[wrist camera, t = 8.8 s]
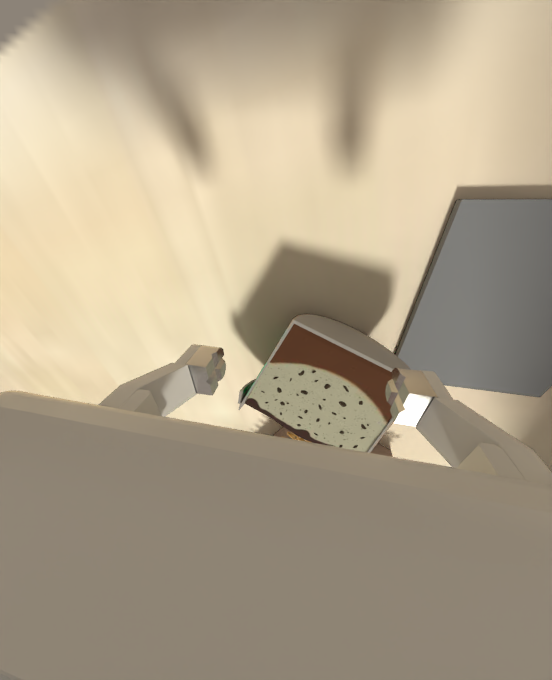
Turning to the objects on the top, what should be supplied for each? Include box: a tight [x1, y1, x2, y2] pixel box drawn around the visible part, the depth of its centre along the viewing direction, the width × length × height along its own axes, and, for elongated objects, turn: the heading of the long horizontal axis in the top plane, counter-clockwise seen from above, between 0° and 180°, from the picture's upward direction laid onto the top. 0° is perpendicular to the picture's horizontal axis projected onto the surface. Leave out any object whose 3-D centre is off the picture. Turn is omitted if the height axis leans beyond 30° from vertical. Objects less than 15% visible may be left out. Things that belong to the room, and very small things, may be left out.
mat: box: [395, 199, 552, 397], centre depth 15 cm, size 12×14×1 cm
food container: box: [238, 314, 410, 453], centre depth 19 cm, size 12×6×10 cm
